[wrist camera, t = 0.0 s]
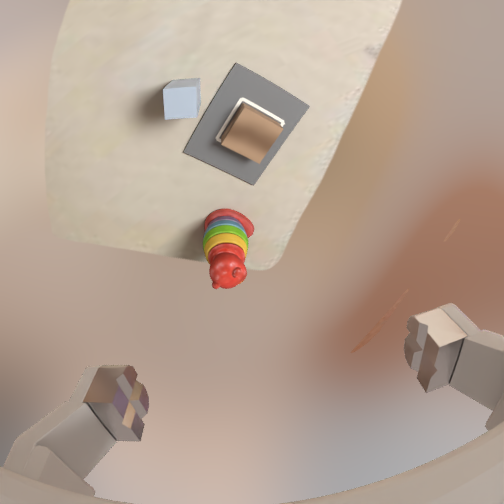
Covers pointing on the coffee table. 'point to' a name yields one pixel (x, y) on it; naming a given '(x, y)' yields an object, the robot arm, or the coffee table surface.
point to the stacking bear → (227, 246)
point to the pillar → (182, 98)
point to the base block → (251, 133)
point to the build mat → (224, 109)
